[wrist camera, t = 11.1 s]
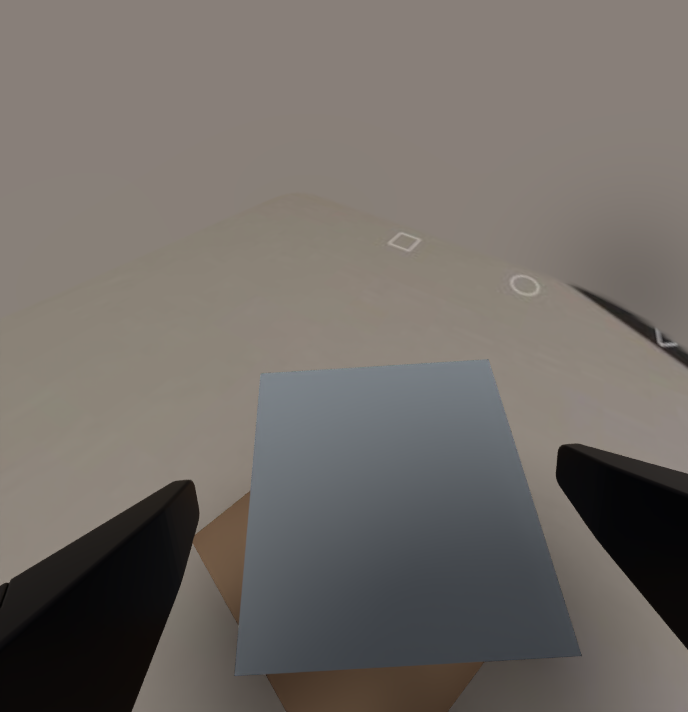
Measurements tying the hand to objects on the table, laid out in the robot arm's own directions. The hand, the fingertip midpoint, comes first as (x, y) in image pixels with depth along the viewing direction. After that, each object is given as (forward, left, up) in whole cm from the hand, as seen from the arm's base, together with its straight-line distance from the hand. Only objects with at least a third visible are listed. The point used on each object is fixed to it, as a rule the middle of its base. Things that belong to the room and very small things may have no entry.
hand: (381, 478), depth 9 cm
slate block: (-1, +1, -8) cm, 8 cm away
